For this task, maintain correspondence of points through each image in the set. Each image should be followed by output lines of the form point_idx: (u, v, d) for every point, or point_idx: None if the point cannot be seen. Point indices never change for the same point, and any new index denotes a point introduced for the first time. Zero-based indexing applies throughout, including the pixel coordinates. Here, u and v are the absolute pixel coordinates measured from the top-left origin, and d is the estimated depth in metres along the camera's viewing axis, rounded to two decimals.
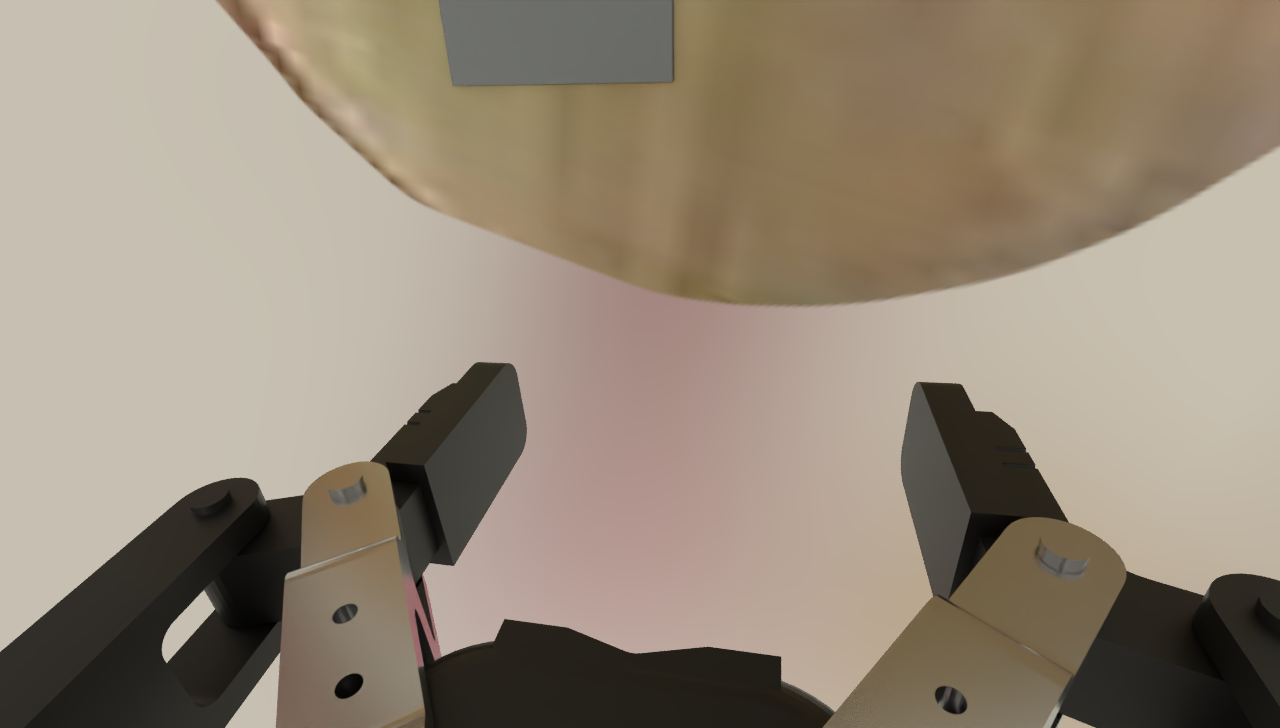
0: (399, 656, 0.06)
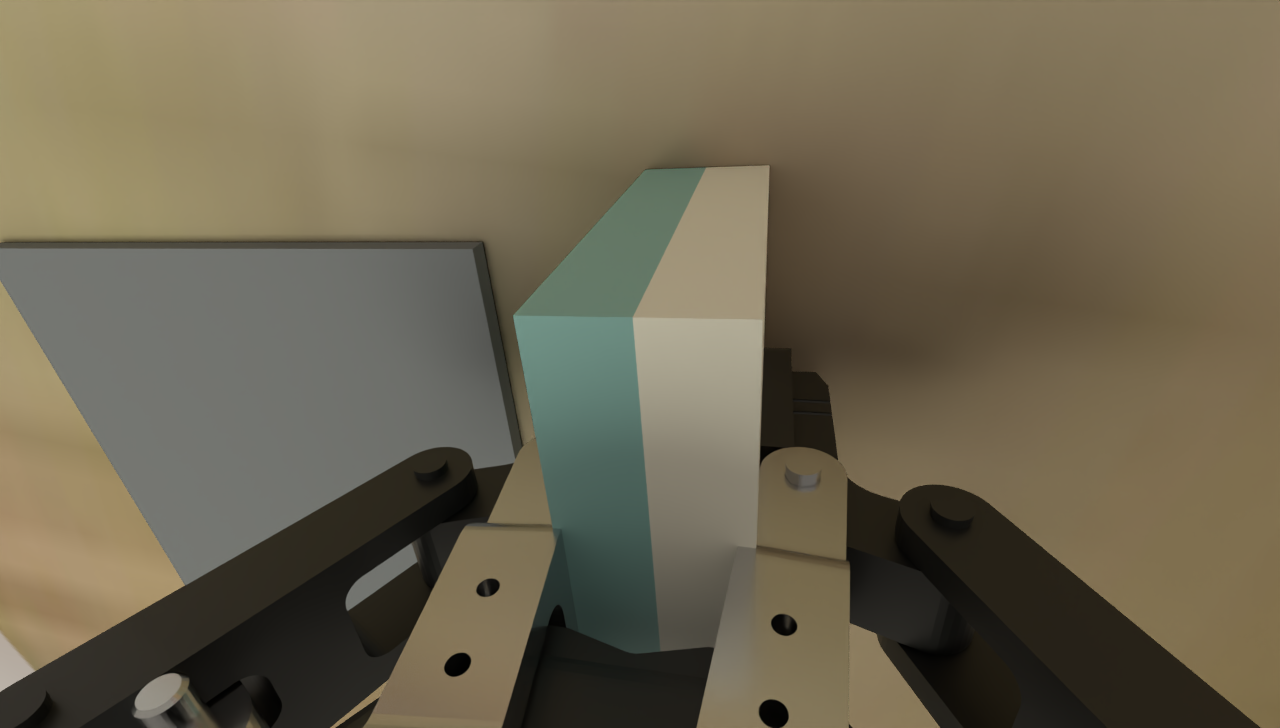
0: (507, 658, 0.06)
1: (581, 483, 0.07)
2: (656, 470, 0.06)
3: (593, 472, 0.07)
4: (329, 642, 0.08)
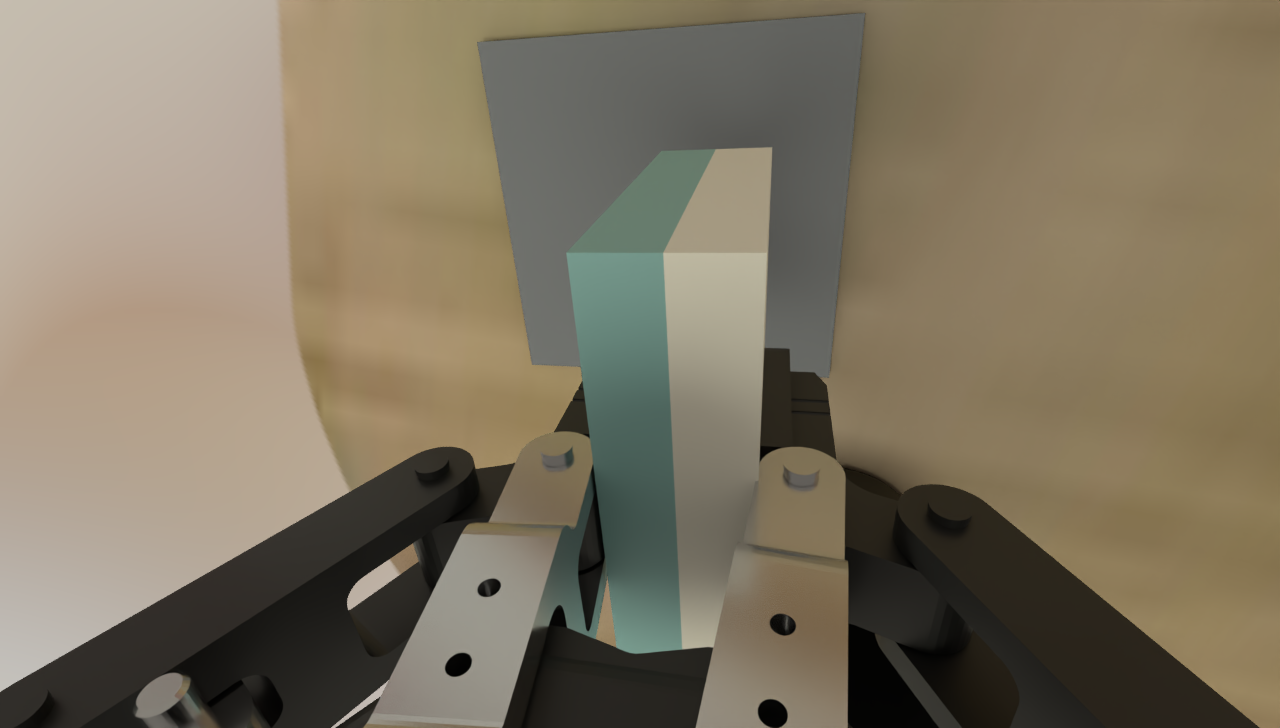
0: (508, 658, 0.06)
1: (616, 398, 0.08)
2: (678, 384, 0.08)
3: (625, 387, 0.08)
4: (330, 642, 0.08)
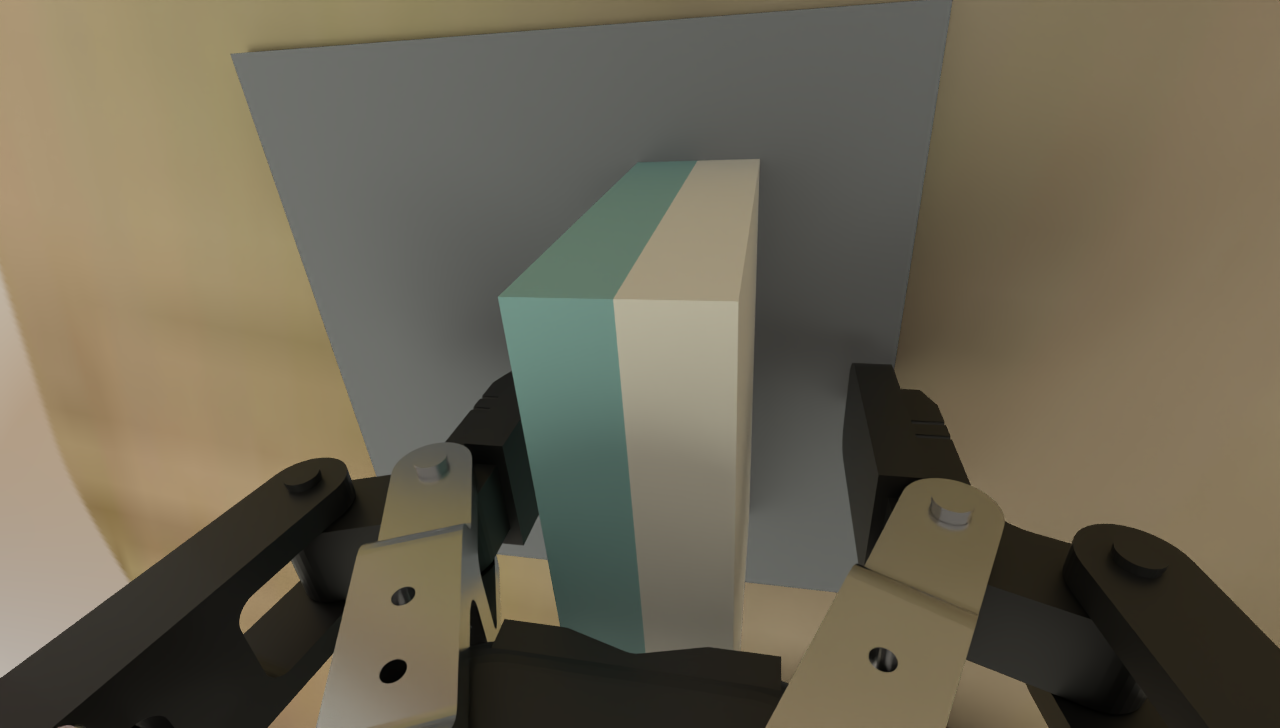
0: (443, 650, 0.06)
1: (565, 463, 0.07)
2: (637, 450, 0.07)
3: (575, 451, 0.07)
4: (227, 668, 0.08)
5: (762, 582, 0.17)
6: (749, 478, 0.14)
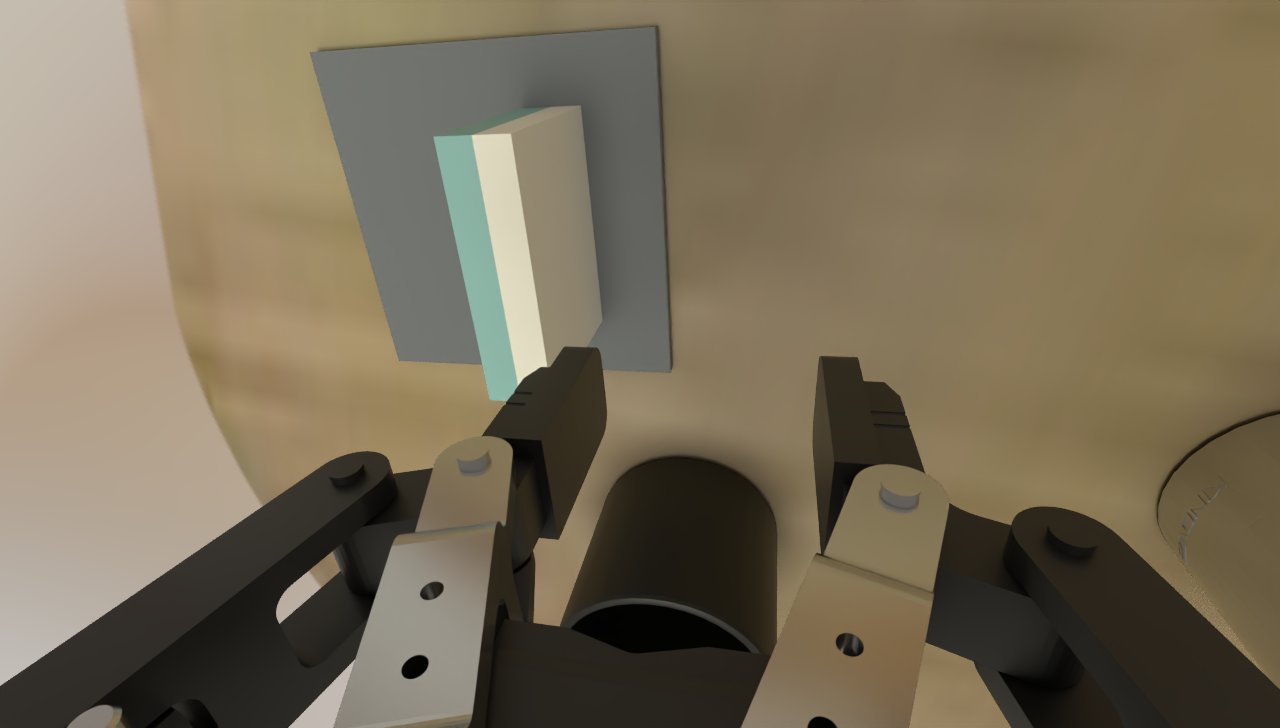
0: (465, 650, 0.06)
1: (462, 207, 0.18)
2: (487, 198, 0.18)
3: (465, 201, 0.18)
4: (262, 657, 0.08)
5: (616, 369, 0.28)
6: (593, 289, 0.26)
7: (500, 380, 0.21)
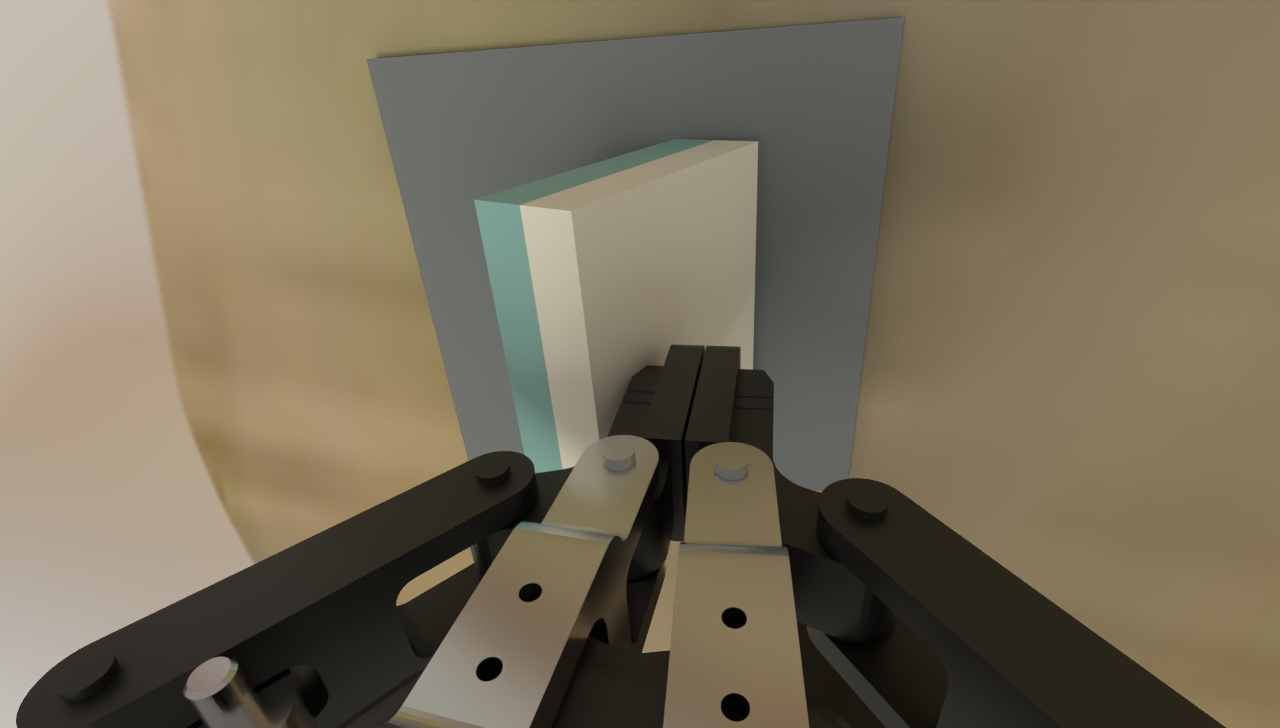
0: (538, 670, 0.06)
1: (509, 306, 0.12)
2: (539, 301, 0.11)
3: (513, 299, 0.12)
4: (377, 639, 0.08)
5: None
6: None
7: None
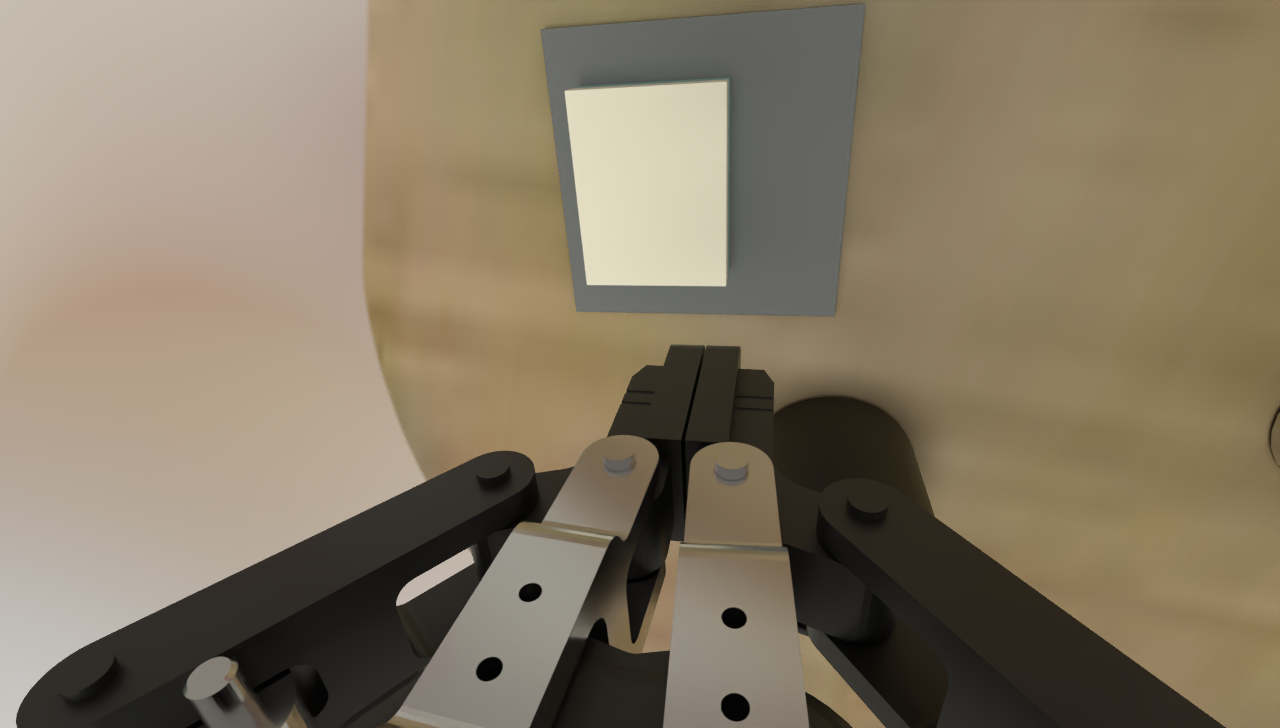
0: (538, 670, 0.06)
1: None
2: None
3: None
4: (378, 639, 0.08)
5: (783, 314, 0.32)
6: (709, 249, 0.28)
7: None
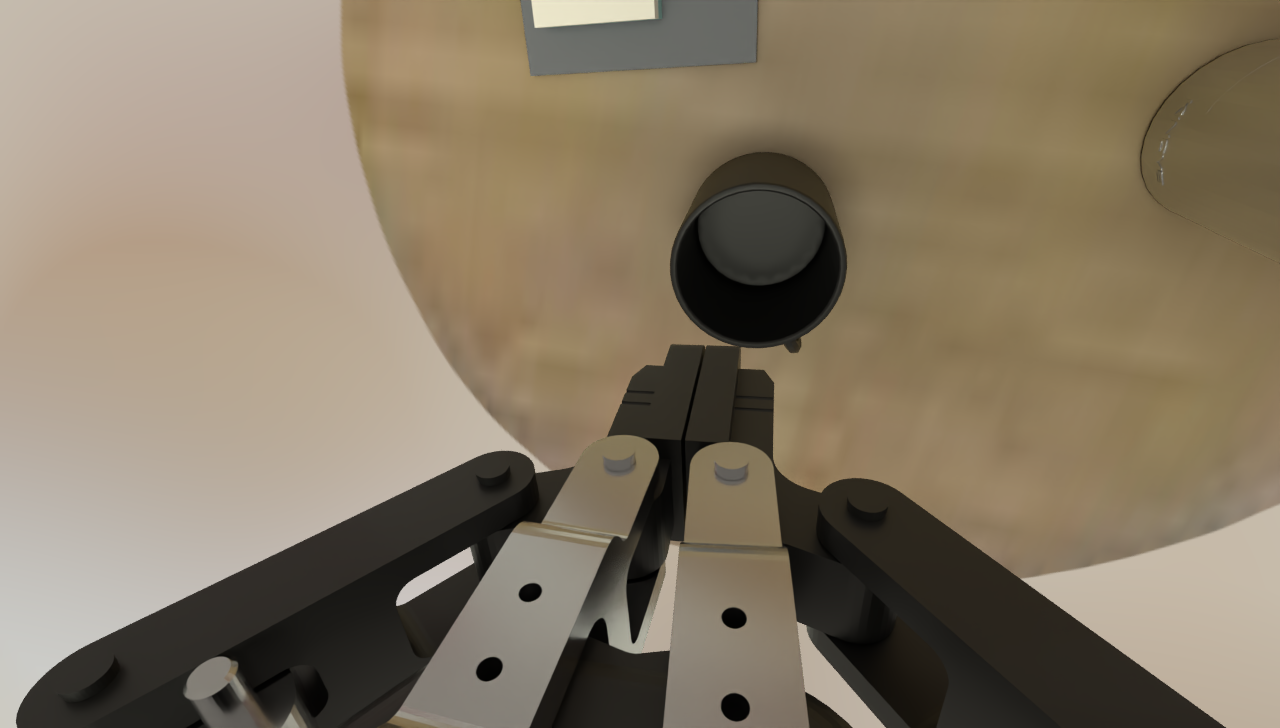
0: (538, 669, 0.06)
1: None
2: None
3: None
4: (378, 639, 0.08)
5: (711, 63, 0.36)
6: None
7: None
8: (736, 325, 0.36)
